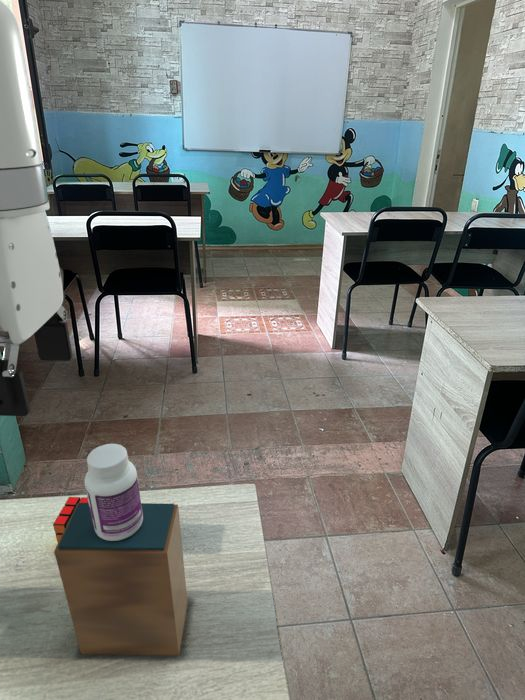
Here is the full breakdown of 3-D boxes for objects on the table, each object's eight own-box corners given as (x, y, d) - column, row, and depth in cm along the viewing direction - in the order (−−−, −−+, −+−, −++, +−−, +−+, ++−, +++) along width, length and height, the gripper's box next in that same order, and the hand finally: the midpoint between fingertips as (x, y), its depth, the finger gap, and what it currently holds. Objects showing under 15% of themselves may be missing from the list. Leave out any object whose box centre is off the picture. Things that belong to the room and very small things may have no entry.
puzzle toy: (96, 554, 72) (90, 526, 70) (59, 552, 72) (52, 524, 70) (109, 525, 77) (104, 498, 75) (75, 523, 77) (69, 496, 75)
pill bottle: (153, 515, 55) (144, 447, 50) (122, 549, 50) (110, 478, 46) (116, 500, 57) (104, 434, 52) (83, 532, 52) (68, 462, 48)
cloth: (58, 549, 51) (57, 546, 51) (79, 504, 57) (79, 502, 56) (163, 550, 51) (163, 547, 51) (174, 506, 57) (174, 503, 56)
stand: (81, 655, 59) (53, 551, 51) (99, 603, 65) (77, 503, 57) (179, 656, 59) (167, 552, 51) (187, 604, 65) (178, 504, 57)
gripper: (0, 175, 44) (35, 342, 52) (-142, 210, 29) (-62, 441, 36) (81, 177, 44) (104, 344, 52) (-17, 213, 29) (37, 442, 37)
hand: (35, 383), depth 44 cm, fingers open, 9 cm apart
